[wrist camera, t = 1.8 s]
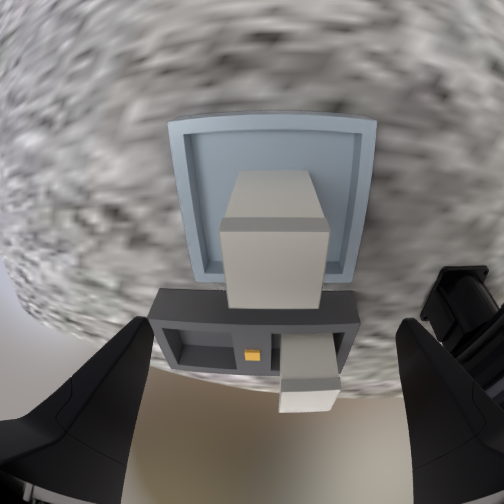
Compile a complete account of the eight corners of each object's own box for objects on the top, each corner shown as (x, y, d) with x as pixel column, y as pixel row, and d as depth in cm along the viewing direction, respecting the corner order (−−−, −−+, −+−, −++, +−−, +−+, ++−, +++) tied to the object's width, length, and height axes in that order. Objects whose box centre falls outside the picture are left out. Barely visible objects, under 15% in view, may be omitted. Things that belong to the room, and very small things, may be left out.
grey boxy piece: (351, 290, 22) (372, 374, 15) (335, 344, 26) (345, 415, 19) (159, 288, 23) (127, 365, 16) (178, 341, 27) (160, 408, 21)
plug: (308, 169, 15) (330, 231, 10) (305, 229, 18) (318, 308, 12) (238, 169, 16) (218, 230, 10) (242, 229, 18) (228, 308, 12)
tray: (365, 115, 14) (377, 121, 12) (345, 265, 20) (351, 282, 18) (178, 116, 14) (167, 122, 13) (200, 264, 21) (195, 281, 19)
